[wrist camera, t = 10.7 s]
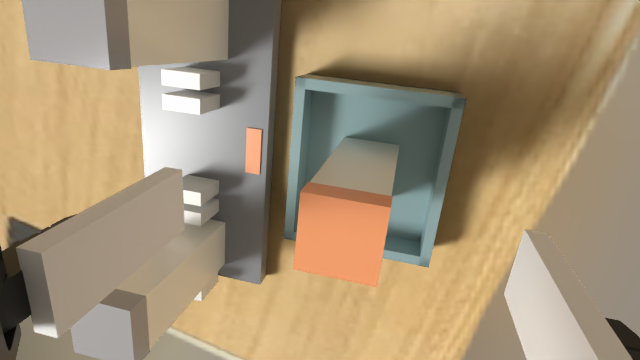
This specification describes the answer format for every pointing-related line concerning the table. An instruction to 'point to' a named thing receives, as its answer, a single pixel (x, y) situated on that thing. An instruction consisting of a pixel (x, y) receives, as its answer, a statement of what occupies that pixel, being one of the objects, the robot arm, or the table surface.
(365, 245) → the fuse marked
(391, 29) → the table surface
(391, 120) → the tray
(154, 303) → the block
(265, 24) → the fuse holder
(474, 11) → the table surface
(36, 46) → the block
